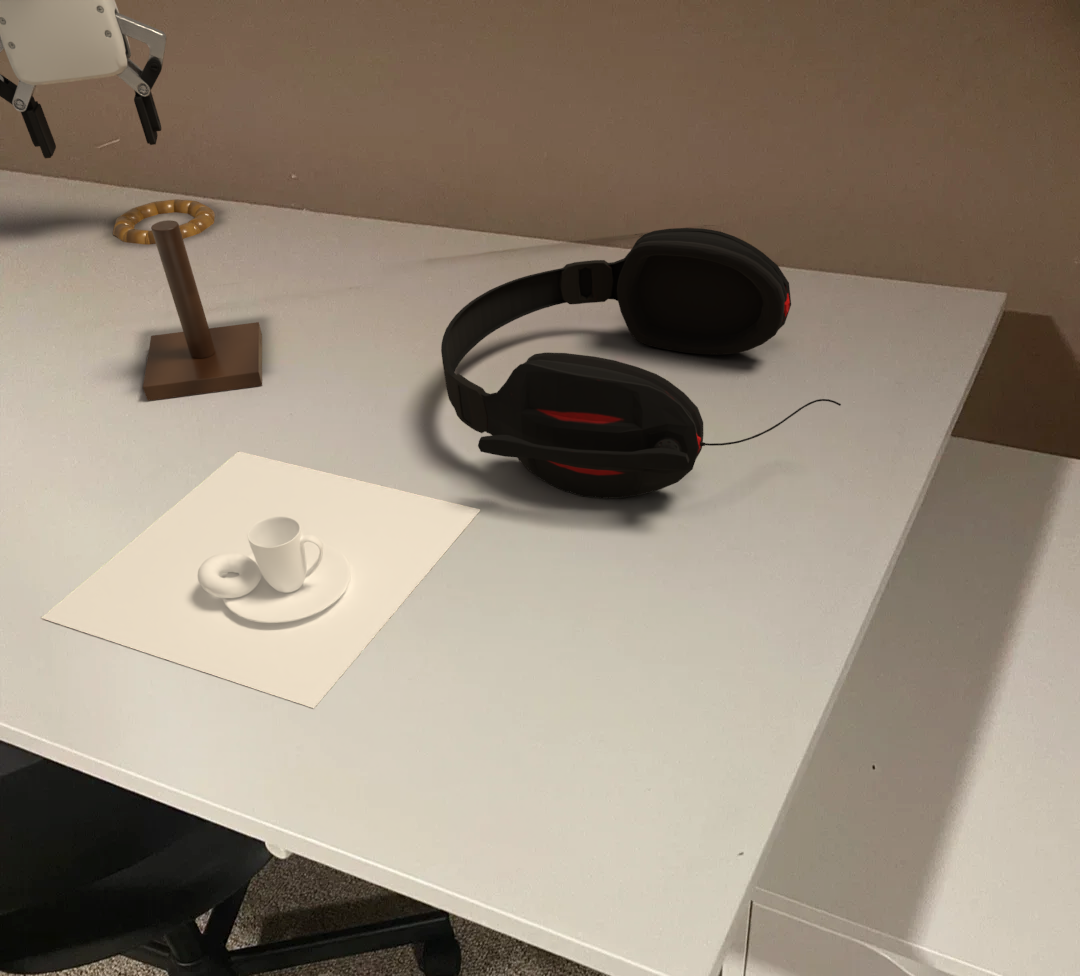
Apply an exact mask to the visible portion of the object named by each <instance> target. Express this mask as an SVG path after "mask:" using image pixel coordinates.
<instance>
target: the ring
mask: <svg viewBox="0 0 1080 976" xmlns="http://www.w3.org/2000/svg"><path fill="white" fill-rule="evenodd" d="M173 213H177V214H185V215H187V214H188V215H189V216H190V217H193V218H192V219H191V220H189V221H188V222H185V223H182V224H179V227H180V231H181V234H182V238H183V240H184V239H188V238H190V237H193V236H196V235H200V234H201V233H203V232H204V231H205V230H207V229H208V228H210V227H212V226H213V225H214V223H215V218H216V217H215V216H216V213H215V212H214V210H213V209H212V208H211V207H209V206H207V205H205V204H203V203H201V202H199V201H197V200H189V199H179V198H174V199H167V200H165V199H164V200H157V201H152V202H149V203H144V204H142V205H138V206H135V207H132V208H130V209H129V210H127V211H125V212H124V213H123V214H121V215H119V216H118V217H117V218H116V219H115V222H114V225H113V230H112V234H113V236H114V237H115V238H117V239H118V240H120V241H122V242H123V243H127V244H128V243H129V244H137V245H147V246H149V245H156V242H155V239H154V236H153V233H152V229H150V230H147V229H146V230H145V229H139V228H138V229H137V228H135V227H136V225H137V224H138V223H140V222H141V221H143V220H144V219H145V220H146V219H148V218H151V217H153V216H157V215H164V214H173Z"/></svg>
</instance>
